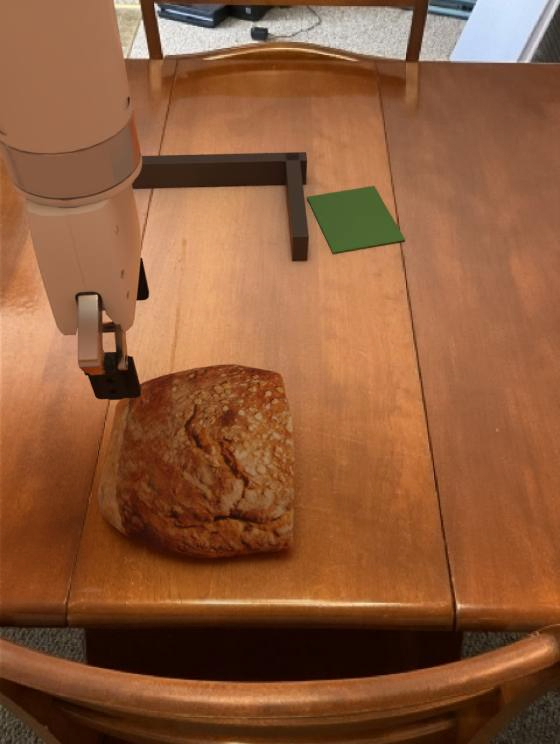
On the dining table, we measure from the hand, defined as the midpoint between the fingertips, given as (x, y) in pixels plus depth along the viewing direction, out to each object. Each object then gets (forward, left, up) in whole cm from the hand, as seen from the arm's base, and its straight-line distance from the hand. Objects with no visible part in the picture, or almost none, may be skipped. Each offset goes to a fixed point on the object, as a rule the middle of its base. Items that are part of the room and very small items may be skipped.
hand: (124, 343), depth 52 cm
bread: (+4, +1, -21) cm, 21 cm away
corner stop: (+5, +40, -20) cm, 45 cm away
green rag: (+24, +39, -20) cm, 50 cm away
